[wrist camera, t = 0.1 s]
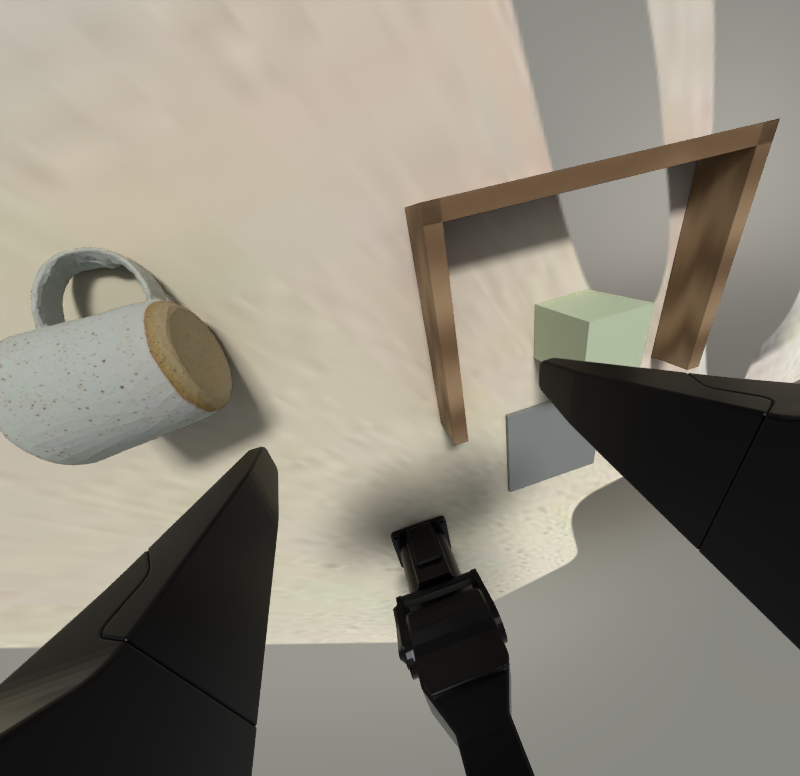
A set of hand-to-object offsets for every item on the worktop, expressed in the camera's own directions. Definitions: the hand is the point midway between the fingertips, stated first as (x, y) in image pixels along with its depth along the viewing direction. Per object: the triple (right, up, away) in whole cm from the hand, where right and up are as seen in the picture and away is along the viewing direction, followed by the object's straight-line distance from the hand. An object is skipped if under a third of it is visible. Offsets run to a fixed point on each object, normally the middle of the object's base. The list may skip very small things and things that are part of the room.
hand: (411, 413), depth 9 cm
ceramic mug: (-17, +4, +11) cm, 21 cm away
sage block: (+14, +7, +17) cm, 23 cm away
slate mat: (+17, -5, +24) cm, 29 cm away
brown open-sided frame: (+13, +9, +16) cm, 23 cm away
